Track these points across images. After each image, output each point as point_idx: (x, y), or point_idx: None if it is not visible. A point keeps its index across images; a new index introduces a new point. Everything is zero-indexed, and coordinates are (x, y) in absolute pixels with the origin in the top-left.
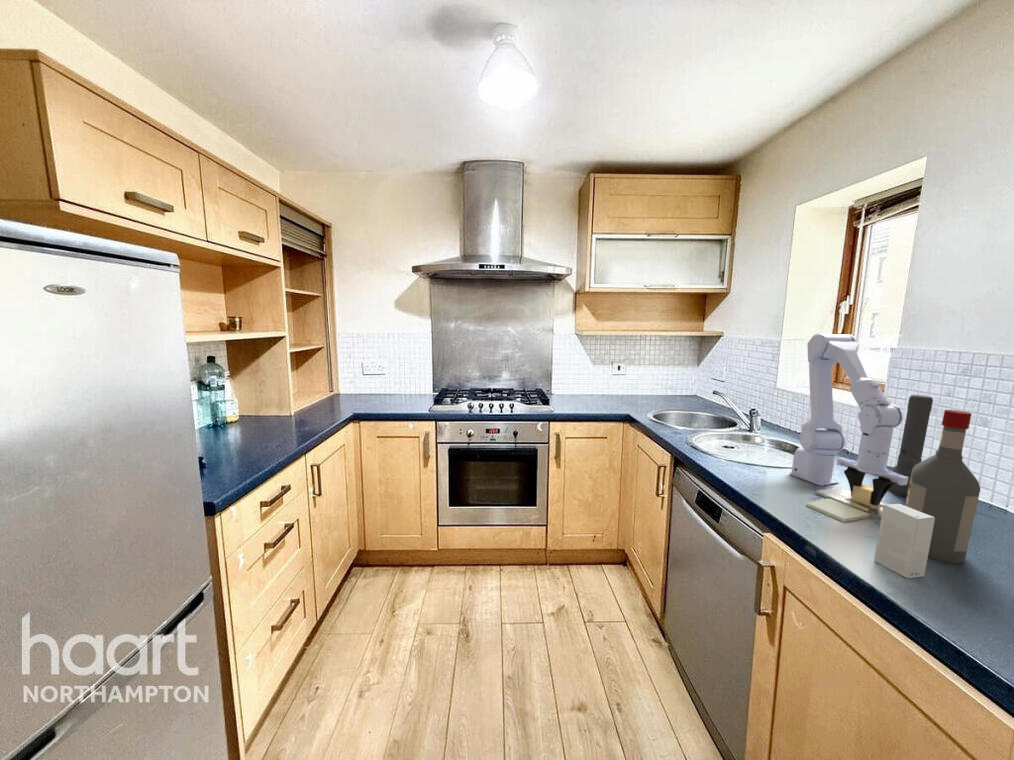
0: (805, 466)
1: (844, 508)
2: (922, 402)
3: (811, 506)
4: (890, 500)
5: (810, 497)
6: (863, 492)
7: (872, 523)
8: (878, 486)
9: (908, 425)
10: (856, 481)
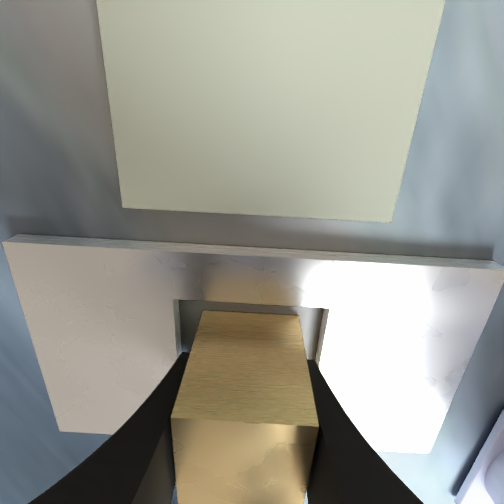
0: None
1: (239, 128)
2: None
3: None
4: None
5: (496, 150)
6: (234, 393)
7: (50, 113)
8: (79, 491)
9: None
10: (324, 491)
